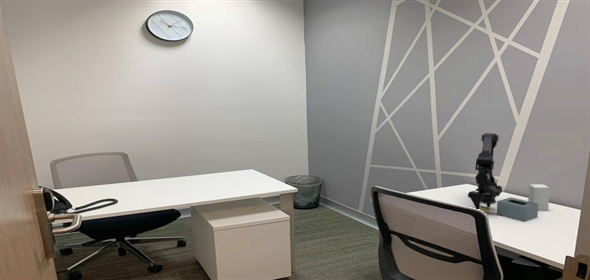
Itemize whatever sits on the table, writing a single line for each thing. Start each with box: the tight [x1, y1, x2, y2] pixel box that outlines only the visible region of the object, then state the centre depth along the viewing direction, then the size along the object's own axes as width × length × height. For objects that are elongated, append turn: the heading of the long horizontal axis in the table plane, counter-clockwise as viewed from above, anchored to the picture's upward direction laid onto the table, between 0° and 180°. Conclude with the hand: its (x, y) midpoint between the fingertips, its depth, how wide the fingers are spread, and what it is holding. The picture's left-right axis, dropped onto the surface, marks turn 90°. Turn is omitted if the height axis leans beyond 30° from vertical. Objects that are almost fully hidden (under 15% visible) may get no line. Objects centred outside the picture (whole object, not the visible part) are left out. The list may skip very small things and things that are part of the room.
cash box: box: [496, 196, 539, 222], centre depth 194 cm, size 14×12×7 cm
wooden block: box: [479, 204, 491, 214], centre depth 203 cm, size 6×3×2 cm, turn 31°
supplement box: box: [527, 183, 550, 212], centre depth 204 cm, size 7×7×13 cm
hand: (483, 208), depth 203 cm, fingers open, 9 cm apart
